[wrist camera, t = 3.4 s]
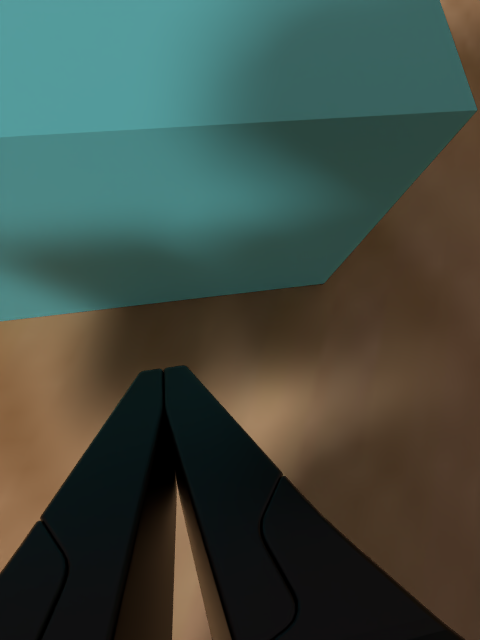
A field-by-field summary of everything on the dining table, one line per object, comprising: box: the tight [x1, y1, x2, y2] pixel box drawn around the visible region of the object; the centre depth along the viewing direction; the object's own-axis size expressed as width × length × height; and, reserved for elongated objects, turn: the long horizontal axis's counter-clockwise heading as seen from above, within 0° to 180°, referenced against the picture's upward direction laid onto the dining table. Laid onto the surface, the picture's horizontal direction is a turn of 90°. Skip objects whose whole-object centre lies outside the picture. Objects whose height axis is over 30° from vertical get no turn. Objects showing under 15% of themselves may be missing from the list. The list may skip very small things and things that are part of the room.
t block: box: [0, 0, 477, 321], centre depth 12 cm, size 10×12×9 cm
